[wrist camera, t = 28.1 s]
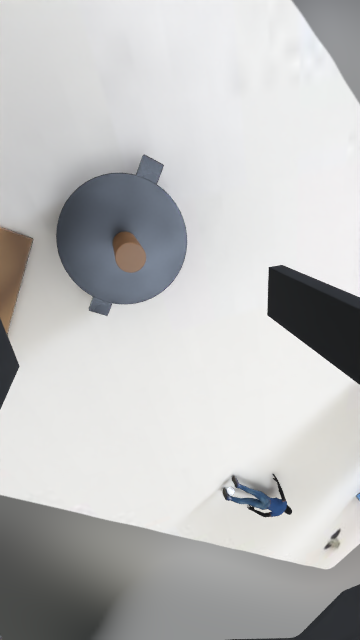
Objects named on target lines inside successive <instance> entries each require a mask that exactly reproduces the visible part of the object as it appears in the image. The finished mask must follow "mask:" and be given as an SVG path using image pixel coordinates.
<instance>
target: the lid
mask: <svg viewBox="0 0 360 640" xmlns="http://www.w3.org/2000/svg"><path fill="white" fill-rule="evenodd" d="M56 238H57V248H58V253H59V256H60V259H61V262H62V264H63V266H64V268H65V270H66V271H67V273H68V274H69V276H70V277H71V279H72V280H73V281H74V282H75V283H76V284H77V285H78V286H79V287H80V288H81V289H82V290H84V291H85V292H87V293H88V294H90V295H91V296H93V297H95V298H97V299H100V300H102V301H105V302H109V303H115V304H134V303H139V302H143V301H146V300H148V299H151V298H153V297H155V296H156V295H158V294H159V293H161V292H162V291H164V290H165V289H166V288H167V287H168V286H169V285H170V284H171V283H172V282H173V281H174V279H175V278H176V276H177V275H178V273H179V271H180V269H181V267H182V265H183V262H184V259H185V255H186V249H187V233H186V227H185V223H184V220H183V217H182V215H181V212H180V210H179V209H178V207H177V205H176V203H175V202H174V201H173V199H172V198H171V197H170V196H169V195H168V194H167V193H166V192H165V191H164V190H163V189H162V188H161V187H159V186H158V185H157V184H155V183H153V182H152V181H150V180H148V179H146V178H143V177H141V176H137V175H134V174H128V173H110V174H105V175H101V176H98V177H95V178H93V179H91V180H89V181H87V182H85V183H84V184H83V185H81V186H80V187H79V188H78V189H76V190H75V191H74V192H73V193H72V195H71V196H70V197H69V199H68V200H67V201H66V203H65V205H64V207H63V208H62V211H61V214H60V216H59V220H58V224H57V234H56Z"/></svg>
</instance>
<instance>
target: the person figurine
mask: <svg viewBox="0 0 360 640" xmlns="http://www.w3.org/2000/svg"><path fill="white" fill-rule="evenodd" d="M273 476H274V477H275V479H274V478H273V479H274V480H275V481H276V482H277V484H278V488H279V492H280V495H281V498H282V499H278V498H270V497H268V496H267V495H265V494H264V493H263V492H261V491H257V490H253V489H250V488H248V487H246V486H243V485H241V484H239V482H238V480H237V478H236V477H235V476H233V477H232V481H233V482H234V484H235V487H236V488H240V489H242V490H244V491H245V492H247V493H250V494H252V495H254V496H255V497H256V498H258V499H259V500H258V499H254V498H237V497H232V496H230V495H233V494H234V491H235V490H234V488H233V487H228V488H227V490H226V489H225V488H223V495H224V497H225V499H226V500H228V501H229V500H231V501H233V502H236V503H239V504H249V506H250V505H251V506H252V507H251V506H250V507H249V506H248V507H247V508H248V509H249V510H252V511H254V512H255V513H257V514H259V515H261V516H263V517H273V516H279V515H281V514H282V513H283V512H285V513H287V514H289V515H290V514H291V513H292V510H291V508H290V507H289V506H288V505H287V502H286V499H285V497H284V494H283V491H282V488H281V486H280V484H279V482H278V480H277V478H276V476H275V475H274V474H273ZM254 507H256V508H260V509H262V510H265V509H269V510H271V511H272V512H269V513H262V512H260V511H257V510H255V509H254Z"/></svg>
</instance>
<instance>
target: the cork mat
mask: <svg viewBox="0 0 360 640" xmlns="http://www.w3.org/2000/svg"><path fill="white" fill-rule="evenodd" d="M32 242H33V239H32V238H29V237H27V236H24V235H21V234H18V233H16V232H13V231H10V230H7V229H5V228H2V227H0V318H1V321H2V323H3V326H4V328H5V331H6V334H8V330H9V326H10V323H11V319H12V315H13V312H14V308H15V304H16V301H17V297H18V293H19V290H20V286H21V282H22V279H23V275H24V271H25V268H26V264H27V260H28V256H29V253H30V249H31V245H32Z"/></svg>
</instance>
